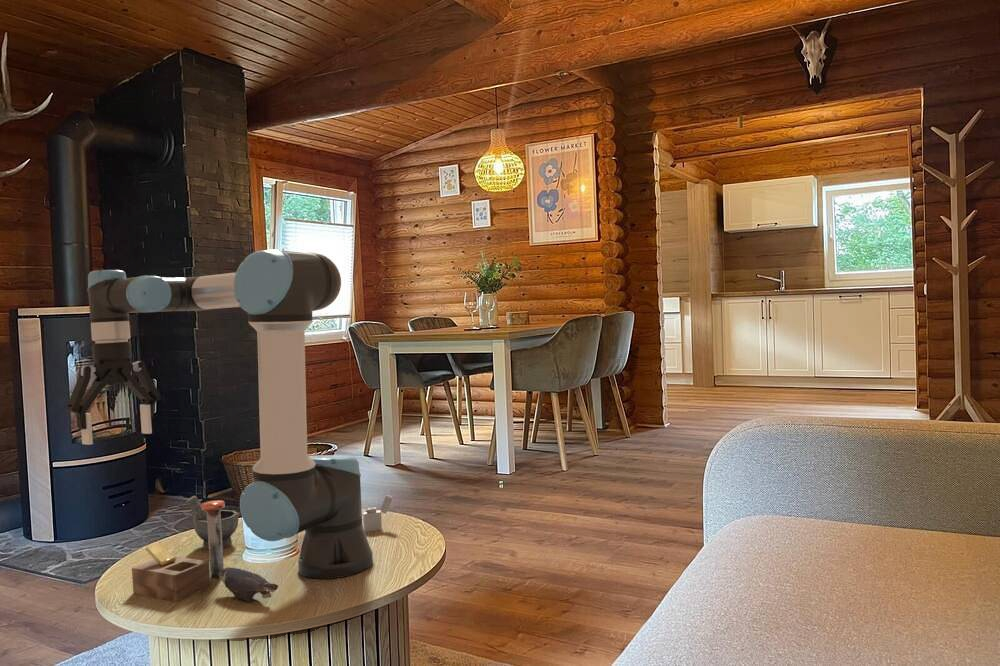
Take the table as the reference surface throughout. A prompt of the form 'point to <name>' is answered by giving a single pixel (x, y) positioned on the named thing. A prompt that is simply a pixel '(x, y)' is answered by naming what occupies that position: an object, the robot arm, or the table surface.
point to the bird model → (245, 583)
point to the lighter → (375, 516)
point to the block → (171, 578)
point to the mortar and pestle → (200, 525)
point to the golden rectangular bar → (160, 554)
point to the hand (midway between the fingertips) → (118, 438)
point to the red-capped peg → (214, 536)
